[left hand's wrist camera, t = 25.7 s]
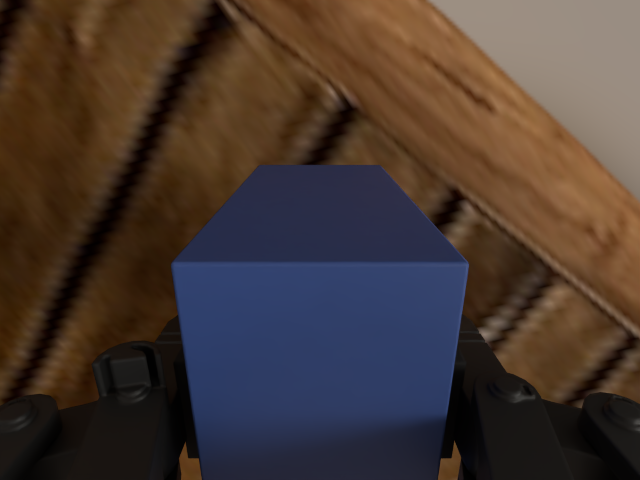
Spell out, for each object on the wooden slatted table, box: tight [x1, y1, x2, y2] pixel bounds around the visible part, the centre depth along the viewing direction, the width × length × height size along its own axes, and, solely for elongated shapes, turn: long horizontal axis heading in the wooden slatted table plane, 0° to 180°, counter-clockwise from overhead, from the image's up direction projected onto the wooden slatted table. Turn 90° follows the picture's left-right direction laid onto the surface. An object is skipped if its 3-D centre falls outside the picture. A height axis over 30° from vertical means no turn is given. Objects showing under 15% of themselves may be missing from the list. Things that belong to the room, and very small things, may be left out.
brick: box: [171, 165, 469, 480], centre depth 12 cm, size 5×8×9 cm, turn 0°
